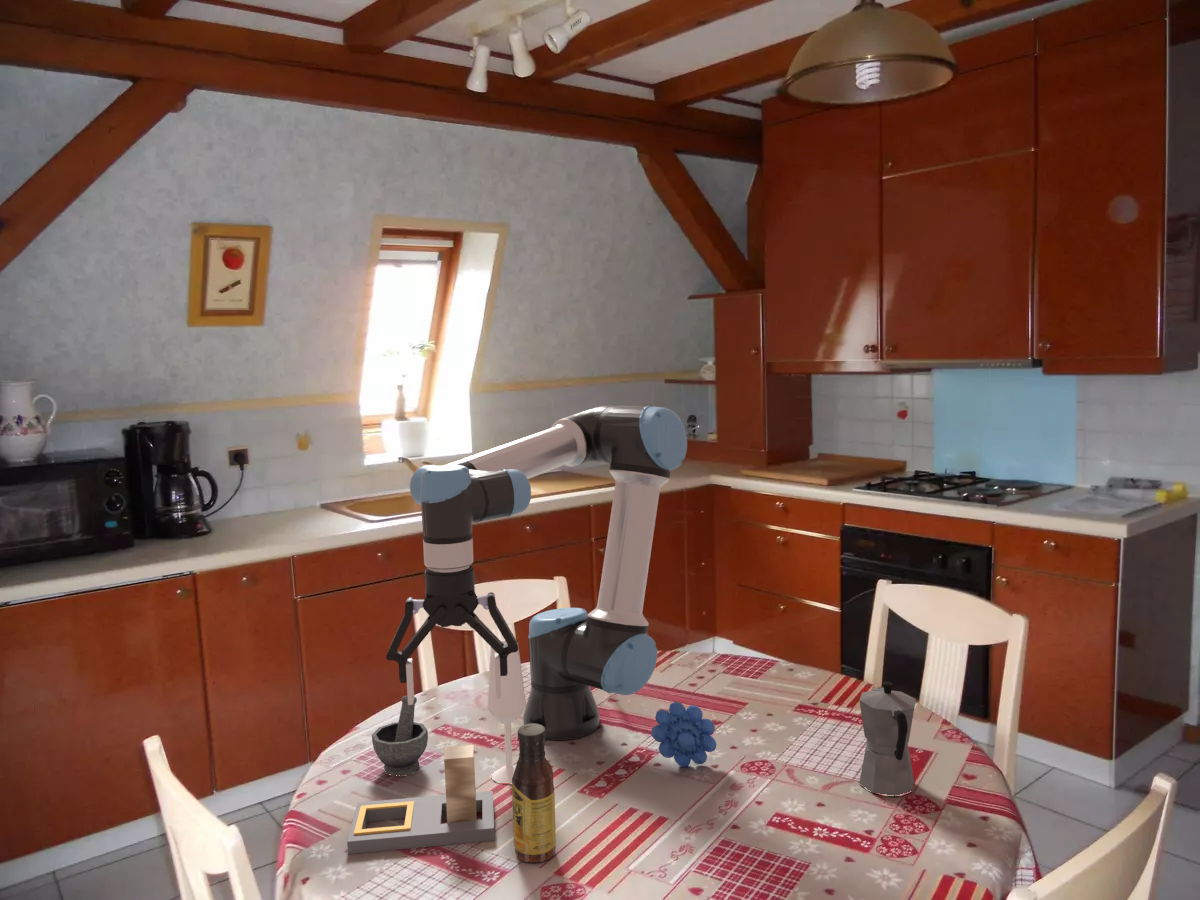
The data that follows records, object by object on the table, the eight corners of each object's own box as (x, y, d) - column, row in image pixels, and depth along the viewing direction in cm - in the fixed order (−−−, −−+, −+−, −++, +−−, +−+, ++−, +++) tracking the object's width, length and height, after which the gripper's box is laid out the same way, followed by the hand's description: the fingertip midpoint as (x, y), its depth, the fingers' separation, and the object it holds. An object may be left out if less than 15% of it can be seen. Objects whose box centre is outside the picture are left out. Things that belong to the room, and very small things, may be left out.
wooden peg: (476, 815, 150) (473, 744, 149) (476, 829, 146) (473, 757, 144) (448, 817, 149) (445, 746, 148) (447, 832, 145) (444, 759, 144)
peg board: (493, 802, 154) (492, 789, 154) (494, 840, 142) (494, 826, 142) (358, 814, 151) (357, 800, 151) (347, 854, 139) (347, 839, 139)
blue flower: (654, 779, 160) (653, 713, 159) (650, 761, 167) (649, 698, 166) (721, 775, 161) (720, 709, 160) (714, 758, 168) (713, 694, 166)
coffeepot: (848, 767, 163) (849, 669, 161) (902, 766, 163) (903, 667, 161) (873, 811, 148) (874, 703, 146) (932, 810, 148) (934, 702, 146)
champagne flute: (530, 782, 160) (525, 649, 158) (491, 786, 159) (485, 652, 157) (526, 765, 167) (522, 636, 164) (489, 769, 166) (484, 639, 163)
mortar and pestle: (416, 783, 161) (412, 717, 160) (365, 780, 163) (362, 714, 162) (438, 754, 172) (435, 692, 171) (391, 751, 174) (387, 690, 173)
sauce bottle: (514, 844, 141) (509, 719, 139) (555, 841, 141) (551, 716, 139) (514, 868, 134) (509, 738, 132) (557, 865, 135) (552, 735, 133)
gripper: (528, 556, 148) (533, 684, 150) (369, 564, 145) (376, 695, 147) (531, 567, 140) (535, 701, 143) (363, 576, 137) (371, 713, 140)
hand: (455, 698), depth 145 cm, fingers open, 13 cm apart
